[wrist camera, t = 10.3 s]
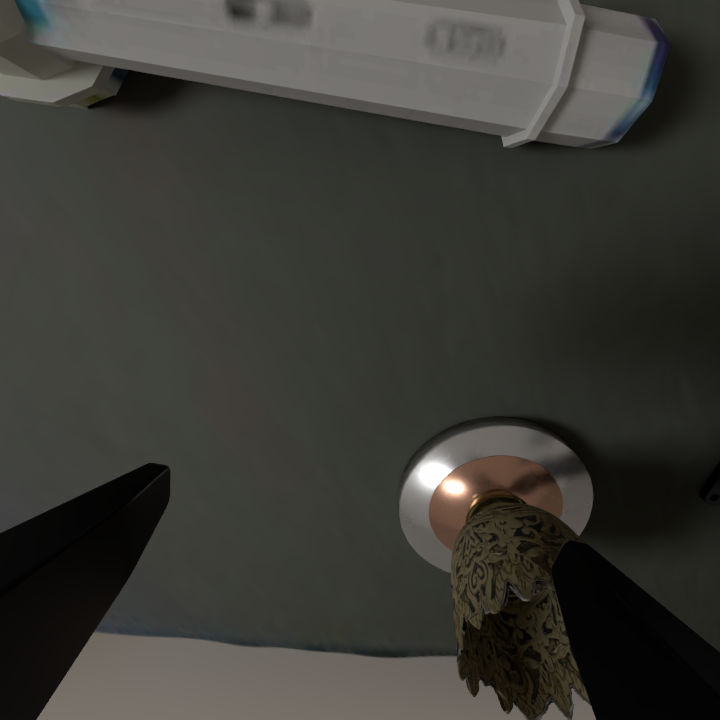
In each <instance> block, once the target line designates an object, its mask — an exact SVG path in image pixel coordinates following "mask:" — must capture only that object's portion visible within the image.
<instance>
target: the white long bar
mask: <svg viewBox="0 0 720 720" xmlns="http://www.w3.org/2000/svg"><path fill="white" fill-rule="evenodd" d="M670 46H671V45H670V43H669V41H668V40H667V38H666V36H665V34H664V33H663V31H662V29H661V27H660V26H659V24H658V22H657V21H656V19H653V18H648V17H643V16H638V15H633V14H628V13H623V12H618V11H613V10H608V9H603V8H598V7H593V6H588V5H583V4H580V3H579V1H578V0H0V95H2V96H4V97H7V98H9V99H12V100H15V101H21V102H28V103H36V104H43V105H50V106H58V107H66V106H67V107H75V108H82V109H88V106H89V105H91V104H94V103H96V102H98V101H101V100H103V99H106V98H108V97H110V96H113V95H115V96H116V94H117V92H118V90H119V88H120V87H121V85H122V83H123V81H124V79H125V77H126V75H127V73H128V71H129V70H133V71H138V72H144V73H150V74H155V75H161V76H167V77H172V78H178V79H184V80H189V81H195V82H200V83H206V84H212V85H217V86H223V87H229V88H234V89H240V90H246V91H251V92H257V93H263V94H268V95H274V96H279V97H285V98H291V99H296V100H302V101H308V102H313V103H319V104H325V105H330V106H336V107H342V108H347V109H353V110H358V111H364V112H370V113H375V114H381V115H387V116H392V117H398V118H404V119H409V120H415V121H421V122H426V123H432V124H437V125H443V126H449V127H454V128H460V129H466V130H471V131H477V132H483V133H488V134H494V135H500V136H501V137H502V141H503V146H504V147H508V148H513V147H516V146H519V145H522V144H525V143H528V142H531V141H539V142H546V143H553V144H560V145H567V146H573V147H580V148H587V149H592V148H596V147H601V146H605V145H609V144H614V143H618V142H619V140H620V139H621V138H622V137H623V136H624V134H625V133H626V132H627V131H628V130H629V128H630V127H631V126H632V125H633V124H634V122H635V121H636V120H637V119H638V118H639V116H640V115H641V114H642V113H643V112H644V110H645V109H646V108H647V107H648V106H649V104H650V103H651V102H652V101H653V98H654V95H655V92H656V89H657V86H658V83H659V79H660V76H661V73H662V70H663V67H664V64H665V61H666V58H667V55H668V52H669V49H670Z"/></svg>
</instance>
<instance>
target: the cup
mask: <svg viewBox="0 0 720 720" xmlns="http://www.w3.org/2000/svg"><path fill="white" fill-rule="evenodd" d="M465 523H466V524H465V525H464V526H463V528H462V529H461V531H460V532H459V534H458V536H457V538H456V541H455V544H454V547H453V551H452V559H451V588H452V603H453V615H454V626H455V637H456V647H457V666H458V672H459V676H460V679H461V680H462V681H463V680H464V679H465V678H466V683H467V688H468V690H469V691H470V693H471V694H472V695H473V697H475V696H476V695H477V693H478V691H479V680H482V682H483V684H484V686H491V687H493V688H494V690H495V693H496V694H497V696H498V699H499V701H500V704H501V707H502V709H503V711H504V712H506V713H507V714H509V713H510V712H511V710H512V708H513V703H514V704H515V705H516V707H517V708H518V710H519V711H520V712H521V713H522V714H523V716H524V717H525V719H526V720H541V718H542V716H543V714H546V711H547V710H548V706H549V705H550V704H551V703H553V702H554V703H555V704H556V706H557V708H558V710H559V711H561V712H562V713H563V715H564V716H565V718H566V719H567V720H572V715H573V708H574V704H573V702H572V692H571V688H573V689H574V690H575V692H576V693H577V694H578V695H579V696H580V698H581V699H583V700H585V701H586V702H588V703H589V704H590V705H591V703H590V701H589V698H588V695H587V692H586V690H585V687H584V684H583V681H582V679H581V676H580V673H579V670H578V667H577V665H576V662H575V659H574V656H573V653H572V649H571V646H570V643H569V639H568V636H567V632H566V628H565V624H564V621H563V617H562V613H561V609H560V606H559V602H558V598H557V594H556V591H555V587H554V583H553V579H552V574H551V569H552V565H553V562H554V561H555V559H556V557H557V555H558V553H559V551H560V549H561V547H562V545H563V544H564V542H566V541H567V540H572V541H578V542H583V543H585V542H584V541H583V540H582V539H581V538H580V537H579V536H578V535H577V534H576V533H575V532H574V531H573V530H572V529H571V528H570V527H569V526H568V525H567V524H565V523H564V522H563V521H562V520H560V519H559V518H557V517H556V516H554V515H553V514H551V513H549V512H547V511H545V510H543V509H540V508H538V507H535V506H532V505H528V504H527V503H526V502H525V501H524V500H522V499H521V498H519V497H518V496H516V495H514V494H512V493H509V492H505V491H494V492H489V493H486V494H483V495H481V496H480V497H478V498H477V499H476V500H474V501H473V502H472V504H471V505H470V507H469V509H468V511H467V515H466V521H465ZM479 678H480V679H479ZM550 700H553V701H550ZM549 701H550V702H549ZM548 702H549V703H548ZM547 703H548V704H547ZM546 704H547V705H546Z"/></svg>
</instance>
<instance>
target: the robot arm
mask: <svg viewBox="0 0 720 720" xmlns="http://www.w3.org/2000/svg"><path fill="white" fill-rule="evenodd" d="M700 497H701V498H702V499H703V500H704V501H705V502H707V503H708V504H711V505H717V506H720V463H719V464H718V466H717V467H716V469H715V471H714V472H713V474H712V475H711V477H710V478H709V480H708V481H707V483H706V484H705V486H704V487H703V489H702V490H701V492H700ZM169 498H170V468H169V467H168V466H166V465H161V464H156V463H148V464H146V465H143V466H141V467H139V468H137V469H135V470H133V471H131V472H129V473H127V474H124V475H122V476H120V477H118V478H116V479H114V480H112V481H110V482H108V483H105V484H103V485H101V486H99V487H97V488H95V489H93V490H91V491H89V492H86V493H84V494H82V495H80V496H78V497H76V498H74V499H72V500H70V501H67V502H65V503H63V504H61V505H59V506H57V507H55V508H53V509H51V510H48V511H46V512H44V513H42V514H40V515H38V516H36V517H34V518H32V519H29V520H27V521H25V522H23V523H21V524H19V525H17V526H15V527H13V528H10V529H8V530H6V531H4V532H2V533H0V720H36V719H37V718H38V716H39V715H40V713H41V712H42V710H43V709H44V707H45V705H46V704H47V703H48V701H49V699H50V698H51V696H52V695H53V693H54V692H55V690H56V689H57V687H58V685H59V684H60V683H61V681H62V680H63V678H64V676H65V675H66V674H67V672H68V670H69V669H70V667H71V666H72V664H73V663H74V661H75V659H76V658H77V657H78V655H79V654H80V652H81V651H82V649H83V648H84V646H85V644H86V643H87V641H88V640H89V638H90V637H91V635H92V634H93V632H94V631H95V629H96V628H97V626H98V625H99V623H100V622H101V620H102V619H103V617H104V615H105V614H106V612H107V611H108V609H109V608H110V606H111V605H112V603H113V602H114V600H115V599H116V597H117V596H118V594H119V593H120V591H121V590H122V588H123V586H124V585H125V583H126V582H127V580H128V578H129V577H130V575H131V573H132V572H133V570H134V568H135V566H136V564H137V562H138V561H139V559H140V557H141V555H142V553H143V551H144V549H145V547H146V545H147V543H148V541H149V540H150V538H151V536H152V534H153V532H154V530H155V528H156V526H157V524H158V522H159V520H160V519H161V517H162V515H163V513H164V511H165V509H166V507H167V505H168V502H169ZM551 574H552V579H553V583H554V587H555V591H556V594H557V598H558V602H559V606H560V609H561V613H562V617H563V621H564V624H565V628H566V632H567V636H568V639H569V643H570V646H571V649H572V653H573V656H574V659H575V662H576V665H577V667H578V670H579V673H580V676H581V679H582V681H583V684H584V687H585V690H586V692H587V695H588V698H589V701H590V703H591V706H592V709H593V712H594V715H595V717H596V720H720V652H719V651H717V650H716V649H715V648H714V647H712V646H711V645H710V644H709V643H708V642H706V641H705V640H704V639H703V638H701V637H700V636H699V635H698V634H697V633H695V632H694V631H693V630H692V629H690V628H689V627H688V626H687V625H686V624H684V623H683V622H682V621H681V620H679V619H678V618H677V617H676V616H675V615H673V614H672V613H671V612H670V611H669V610H667V609H666V608H665V607H664V606H662V605H661V604H660V603H659V602H658V601H656V600H655V599H654V598H653V597H651V596H650V595H649V594H648V593H647V592H645V591H644V590H643V589H642V588H640V587H639V586H638V585H637V584H636V583H634V582H633V581H632V580H631V579H629V578H628V577H627V576H626V575H625V574H623V573H622V572H621V571H620V570H618V569H617V568H616V567H615V566H614V565H612V564H611V563H610V562H609V561H607V560H606V559H605V558H604V557H603V556H601V555H600V554H599V553H598V552H596V551H595V550H594V549H593V548H592V547H590V546H589V545H588V544H586V543H583V542H578V541H572V540H567V541H566V542H564V544H563V545H562V547H561V549H560V551H559V553H558V555H557V557H556V559H555V561H554V562H553V565H552V569H551Z"/></svg>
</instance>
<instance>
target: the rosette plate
mask: <svg viewBox="0 0 720 720" xmlns="http://www.w3.org/2000/svg"><path fill="white" fill-rule="evenodd" d="M494 491H505V492H509V493H512V494H514V495H516V496H518V497H519V498H521V499H522V500H524V501H525V502H526V503H527V504H528V505H532V506H535V507H538V508H540V509H543V510H545V511H547V512H549V513H551V514H553V515H554V516H556V517H557V518H559V519H560V520H562V521H563V522H564V523H565V524H567V525H568V526H569V527H570V528H571V529H572V530H573V531H574V532H575V533H576V534H577V535H578V536H580V534H581V533H582V531H583V530H584V528H585V526H586V524H587V522H588V520H589V517H590V514H591V510H592V505H593V487H592V483H591V479H590V476H589V474H588V472H587V469H586V468H585V466H584V465H583V463H582V462H581V460H580V459H579V458H578V456H577V455H576V454H575V453H574V452H573V451H572V449H571V448H570V447H569V446H568V445H567V444H566V443H565V442H564V441H563V440H562V439H561V438H560V437H559V436H557V435H556V434H555V433H554V432H552V431H550V430H549V429H547V428H545V427H543V426H541V425H538V424H536V423H533V422H530V421H527V420H523V419H518V418H510V417H487V418H479V419H474V420H469V421H466V422H463V423H460V424H457V425H454V426H452V427H450V428H448V429H446V430H444V431H442V432H440V433H439V434H437V435H435V436H434V437H432V438H431V439H430V440H429V441H427V442H426V443H425V444H424V445H423V446H422V447H421V448H420V449H419V450H418V451H417V452H416V453H415V454H414V455H413V457H412V458H411V459H410V461H409V462H408V464H407V466H406V468H405V470H404V472H403V475H402V477H401V480H400V485H399V492H398V502H399V513H400V522H401V525H402V529H403V532H404V534H405V536H406V538H407V540H408V542H409V543H410V544H411V546H412V547H413V549H414V550H415V551H416V552H417V553H418V554H419V555H420V556H421V557H423V558H424V559H425V560H426V561H428V562H429V563H431V564H432V565H434V566H436V567H438V568H440V569H442V570H444V571H446V572H449V573H451V559H452V551H453V547H454V544H455V541H456V538H457V536H458V534H459V532H460V531H461V529H462V528H463V526H464V525H465V524H466V523H465V521H466V515H467V511H468V509H469V507H470V505H471V504H472V502H473V501H474V500H476V499H477V498H478V497H480V496H481V495H483V494H486V493H489V492H494Z"/></svg>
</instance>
